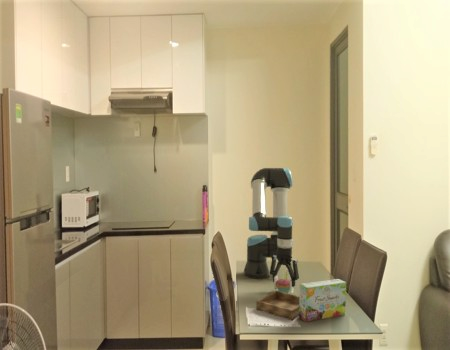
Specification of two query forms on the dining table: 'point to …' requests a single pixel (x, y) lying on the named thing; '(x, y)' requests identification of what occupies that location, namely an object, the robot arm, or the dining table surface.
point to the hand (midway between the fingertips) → (283, 290)
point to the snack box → (322, 299)
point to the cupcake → (283, 285)
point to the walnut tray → (280, 305)
